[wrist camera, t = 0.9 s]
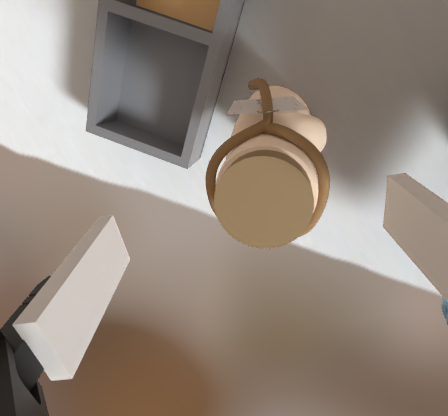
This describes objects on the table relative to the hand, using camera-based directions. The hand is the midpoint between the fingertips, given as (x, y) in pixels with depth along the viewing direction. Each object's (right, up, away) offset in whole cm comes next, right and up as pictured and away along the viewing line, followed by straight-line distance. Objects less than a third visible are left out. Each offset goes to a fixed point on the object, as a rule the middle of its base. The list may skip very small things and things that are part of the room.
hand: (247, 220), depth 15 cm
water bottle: (+6, +12, +25) cm, 29 cm away
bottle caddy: (-7, +23, +23) cm, 34 cm away
